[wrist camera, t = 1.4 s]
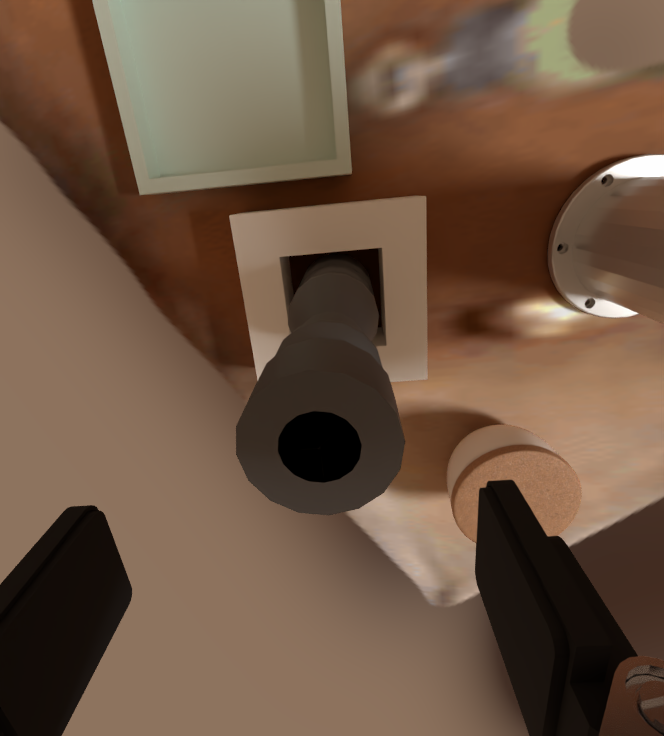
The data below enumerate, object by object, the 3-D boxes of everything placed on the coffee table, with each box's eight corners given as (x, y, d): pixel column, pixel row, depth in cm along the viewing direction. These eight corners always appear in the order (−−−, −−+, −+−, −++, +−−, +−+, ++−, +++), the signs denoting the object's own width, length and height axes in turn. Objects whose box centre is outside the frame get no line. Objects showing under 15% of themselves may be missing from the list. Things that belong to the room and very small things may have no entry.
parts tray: (336, -55, 28) (334, -81, 26) (351, 174, 34) (352, 173, 31) (105, -23, 29) (80, -46, 27) (156, 194, 35) (139, 194, 32)
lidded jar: (556, 472, 44) (608, 541, 35) (458, 508, 46) (484, 582, 37) (523, 388, 40) (571, 442, 32) (419, 432, 43) (437, 494, 34)
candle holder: (330, 237, 36) (301, 322, 12) (386, 283, 37) (452, 438, 14) (287, 294, 38) (192, 457, 14) (341, 336, 39) (333, 547, 16)
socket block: (415, 195, 34) (426, 196, 29) (418, 357, 39) (427, 379, 35) (244, 212, 35) (229, 215, 30) (269, 368, 40) (259, 391, 36)
